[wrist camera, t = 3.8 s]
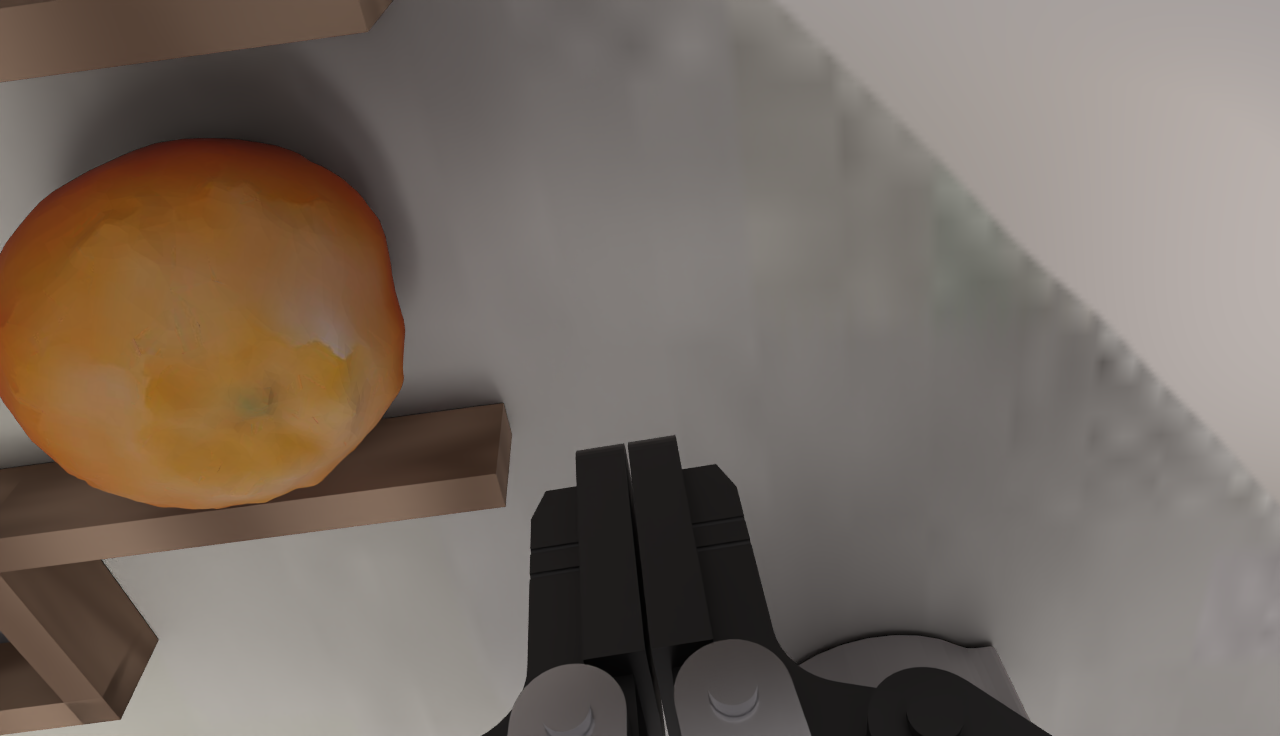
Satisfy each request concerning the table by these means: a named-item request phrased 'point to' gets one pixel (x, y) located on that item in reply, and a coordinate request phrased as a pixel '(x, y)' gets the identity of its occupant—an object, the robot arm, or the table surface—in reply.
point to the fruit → (200, 324)
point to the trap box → (117, 526)
